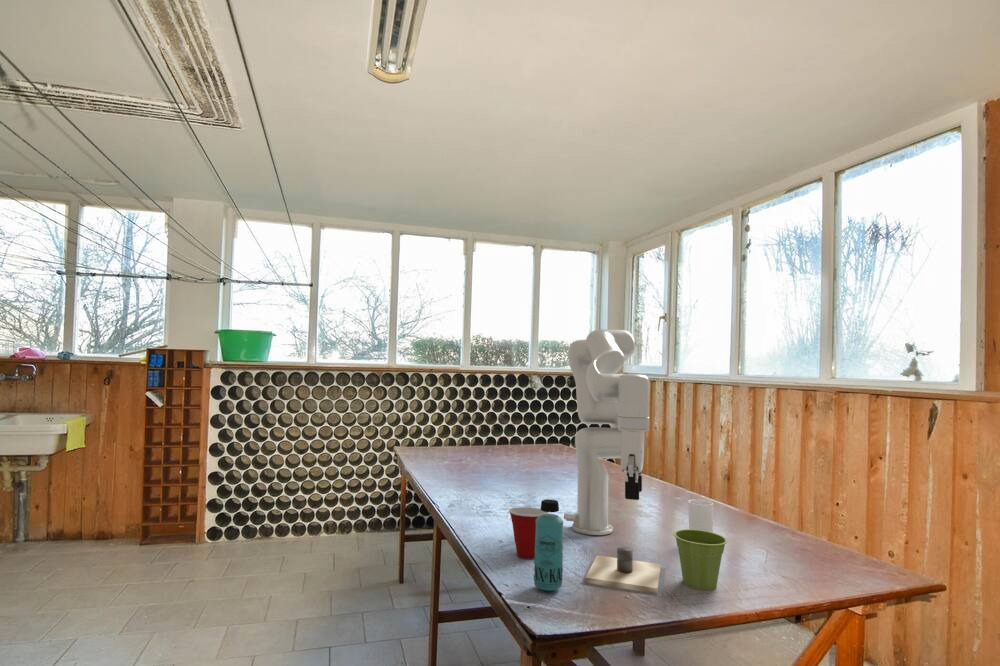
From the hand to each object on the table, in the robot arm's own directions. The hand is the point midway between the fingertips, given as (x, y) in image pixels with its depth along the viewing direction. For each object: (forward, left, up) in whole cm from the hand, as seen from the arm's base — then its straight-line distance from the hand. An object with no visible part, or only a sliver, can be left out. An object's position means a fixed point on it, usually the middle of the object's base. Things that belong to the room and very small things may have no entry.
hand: (633, 495), depth 129 cm
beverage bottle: (-17, -17, -20) cm, 31 cm away
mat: (-2, -2, -19) cm, 19 cm away
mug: (+16, +34, -20) cm, 43 cm away
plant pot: (+15, 0, -20) cm, 25 cm away
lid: (-2, -2, -19) cm, 19 cm away
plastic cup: (-28, +4, -20) cm, 34 cm away
